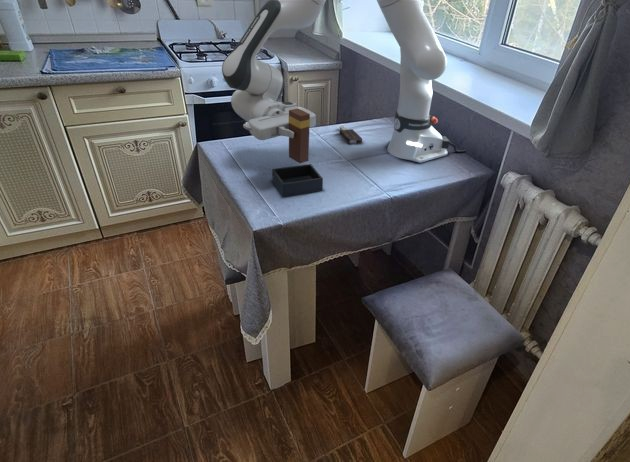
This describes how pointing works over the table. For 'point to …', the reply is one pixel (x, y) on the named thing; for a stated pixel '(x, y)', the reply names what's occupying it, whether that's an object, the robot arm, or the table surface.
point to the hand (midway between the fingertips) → (301, 133)
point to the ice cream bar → (350, 136)
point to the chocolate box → (299, 135)
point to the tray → (297, 180)
